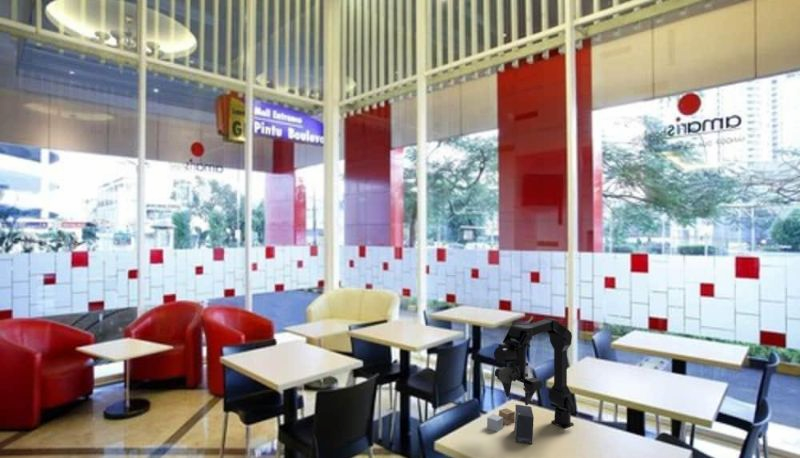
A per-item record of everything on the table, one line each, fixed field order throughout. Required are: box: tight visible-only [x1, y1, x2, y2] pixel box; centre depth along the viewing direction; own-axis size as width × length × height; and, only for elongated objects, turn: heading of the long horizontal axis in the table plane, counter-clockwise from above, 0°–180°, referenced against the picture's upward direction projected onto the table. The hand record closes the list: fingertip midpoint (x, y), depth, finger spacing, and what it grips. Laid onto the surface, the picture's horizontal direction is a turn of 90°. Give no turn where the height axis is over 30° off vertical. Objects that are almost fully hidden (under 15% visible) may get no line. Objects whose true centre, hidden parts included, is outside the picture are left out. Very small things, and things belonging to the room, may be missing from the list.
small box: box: [513, 404, 535, 445], centre depth 170 cm, size 11×6×10 cm, turn 168°
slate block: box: [486, 413, 504, 433], centre depth 176 cm, size 4×4×4 cm
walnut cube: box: [498, 407, 515, 426], centre depth 183 cm, size 4×4×4 cm
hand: (516, 401), depth 167 cm, fingers open, 9 cm apart
